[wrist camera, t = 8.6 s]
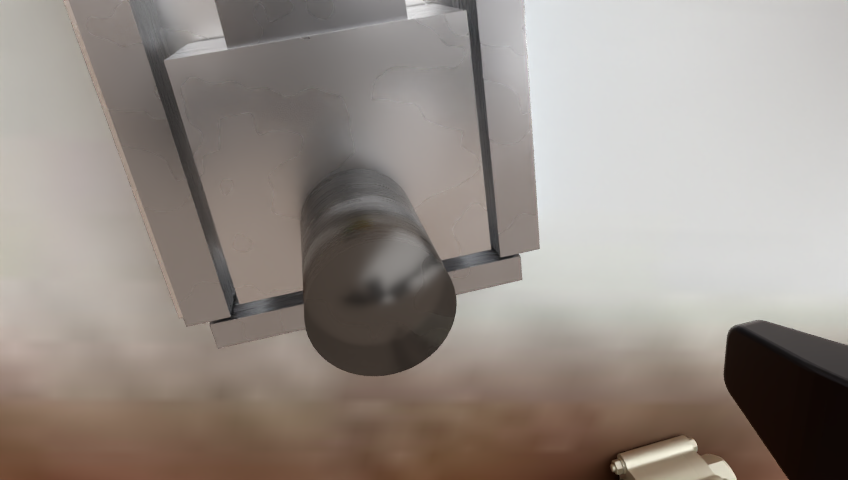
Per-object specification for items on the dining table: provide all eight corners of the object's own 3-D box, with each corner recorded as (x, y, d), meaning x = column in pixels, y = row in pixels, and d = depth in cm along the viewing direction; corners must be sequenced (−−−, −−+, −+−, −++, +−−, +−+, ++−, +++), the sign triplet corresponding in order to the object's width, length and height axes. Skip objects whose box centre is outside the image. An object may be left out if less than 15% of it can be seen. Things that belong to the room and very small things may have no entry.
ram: (418, -123, 15) (526, -203, 8) (458, 204, 19) (556, 339, 12) (151, -86, 15) (21, -141, 8) (247, 247, 18) (221, 419, 11)
